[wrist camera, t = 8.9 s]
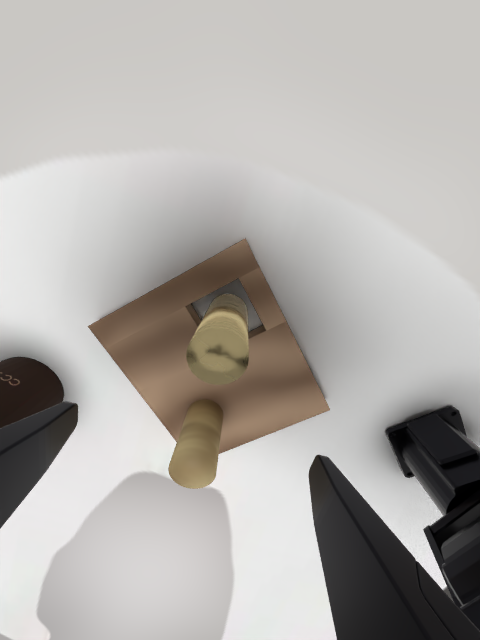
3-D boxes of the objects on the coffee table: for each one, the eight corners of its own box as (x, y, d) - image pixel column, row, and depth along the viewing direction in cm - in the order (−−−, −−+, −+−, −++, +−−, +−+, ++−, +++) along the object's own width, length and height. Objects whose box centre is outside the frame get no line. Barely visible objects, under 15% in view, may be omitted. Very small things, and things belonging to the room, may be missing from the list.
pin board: (324, 399, 22) (358, 466, 16) (196, 450, 25) (178, 529, 18) (245, 238, 18) (245, 237, 11) (98, 320, 20) (27, 359, 14)
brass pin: (251, 298, 19) (255, 336, 12) (242, 334, 20) (240, 390, 13) (213, 289, 19) (191, 322, 12) (205, 326, 20) (181, 377, 13)
